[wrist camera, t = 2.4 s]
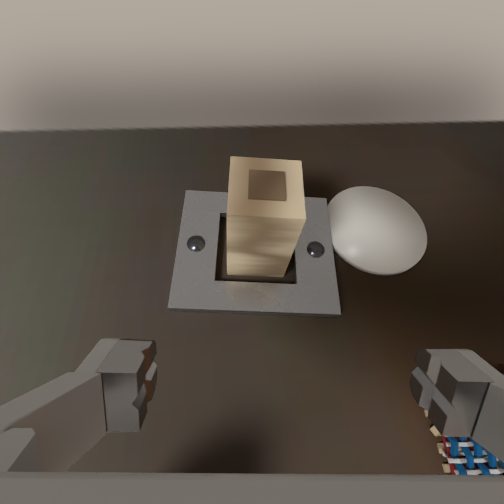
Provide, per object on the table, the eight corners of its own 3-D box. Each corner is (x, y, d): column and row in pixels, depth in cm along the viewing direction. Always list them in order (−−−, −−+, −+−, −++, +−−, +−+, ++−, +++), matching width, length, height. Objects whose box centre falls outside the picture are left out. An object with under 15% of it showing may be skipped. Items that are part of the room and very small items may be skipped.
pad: (400, 186, 33) (403, 182, 33) (441, 268, 28) (445, 266, 28) (312, 193, 32) (313, 190, 31) (340, 281, 27) (342, 278, 27)
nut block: (281, 229, 29) (301, 158, 21) (283, 277, 27) (306, 217, 19) (230, 227, 29) (230, 154, 21) (227, 274, 27) (226, 212, 19)
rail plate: (324, 203, 31) (326, 197, 30) (338, 317, 26) (341, 314, 25) (187, 195, 31) (186, 189, 30) (169, 310, 25) (167, 307, 24)
